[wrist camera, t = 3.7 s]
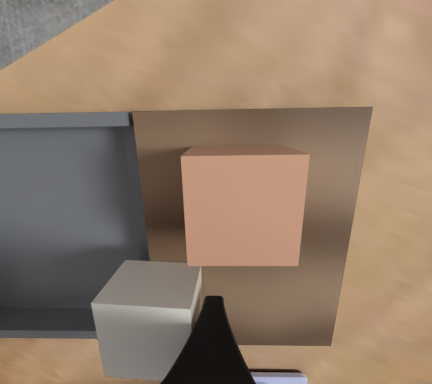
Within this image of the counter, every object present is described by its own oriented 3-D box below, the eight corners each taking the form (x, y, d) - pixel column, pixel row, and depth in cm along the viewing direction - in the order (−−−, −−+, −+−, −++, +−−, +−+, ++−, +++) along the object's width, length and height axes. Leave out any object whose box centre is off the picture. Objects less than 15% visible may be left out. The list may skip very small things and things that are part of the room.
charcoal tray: (164, 310, 16) (152, 352, 13) (-8, 309, 16) (-57, 349, 13) (144, 113, 12) (119, 110, 9) (-81, 117, 12) (-173, 116, 9)
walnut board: (314, 311, 15) (330, 345, 13) (169, 310, 16) (159, 343, 13) (342, 109, 12) (372, 106, 9) (150, 113, 12) (132, 111, 10)
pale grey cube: (202, 325, 13) (193, 383, 10) (133, 320, 13) (104, 376, 10) (201, 263, 12) (190, 309, 9) (125, 259, 12) (90, 303, 9)
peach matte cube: (278, 228, 11) (298, 266, 8) (196, 228, 11) (187, 265, 8) (284, 145, 10) (309, 154, 7) (192, 146, 10) (180, 155, 7)
